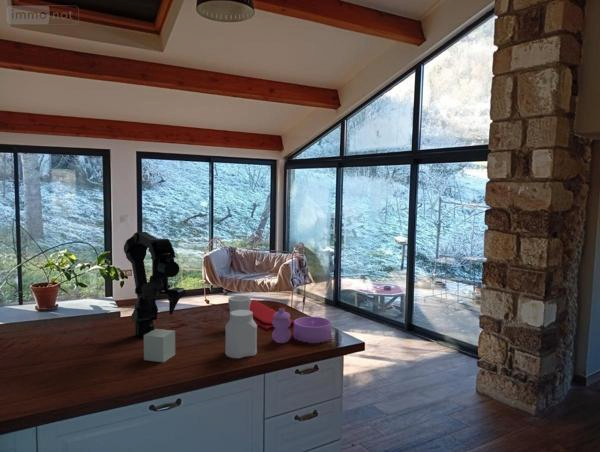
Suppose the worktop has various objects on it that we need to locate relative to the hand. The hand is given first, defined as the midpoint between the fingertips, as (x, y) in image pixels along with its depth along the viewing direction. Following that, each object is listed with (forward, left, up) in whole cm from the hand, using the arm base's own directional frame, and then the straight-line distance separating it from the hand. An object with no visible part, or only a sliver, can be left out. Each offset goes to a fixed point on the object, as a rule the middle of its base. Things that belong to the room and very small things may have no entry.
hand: (160, 313), depth 171 cm
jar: (+32, +4, -13) cm, 34 cm away
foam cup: (+19, +31, -13) cm, 38 cm away
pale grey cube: (+6, -10, -13) cm, 17 cm away
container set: (+48, +26, -13) cm, 56 cm away
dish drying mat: (+21, +50, -14) cm, 56 cm away
